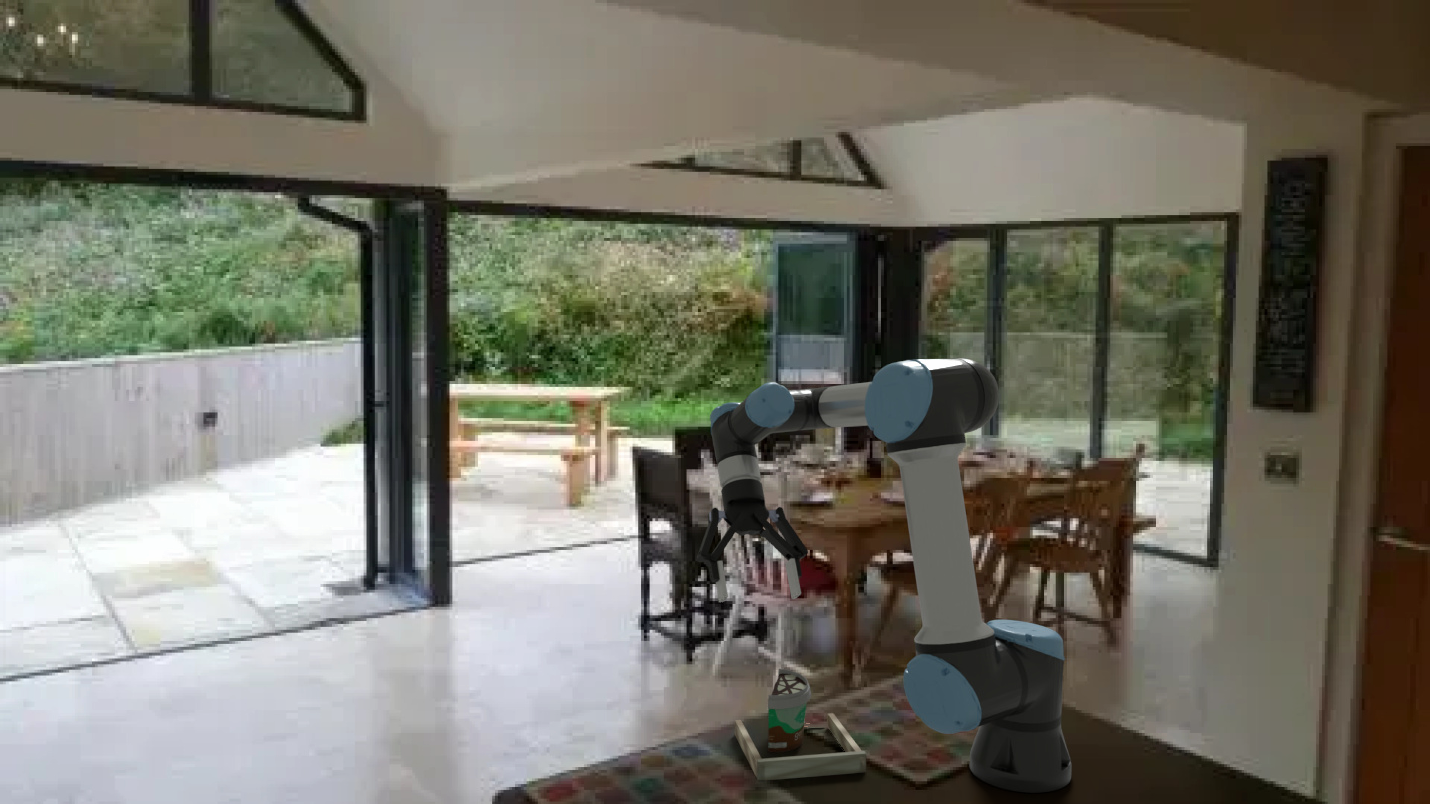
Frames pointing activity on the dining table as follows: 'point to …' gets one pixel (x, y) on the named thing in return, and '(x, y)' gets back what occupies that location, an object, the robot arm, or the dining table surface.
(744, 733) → the beige u-shaped frame
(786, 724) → the food container
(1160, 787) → the dining table surface
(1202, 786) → the dining table surface
